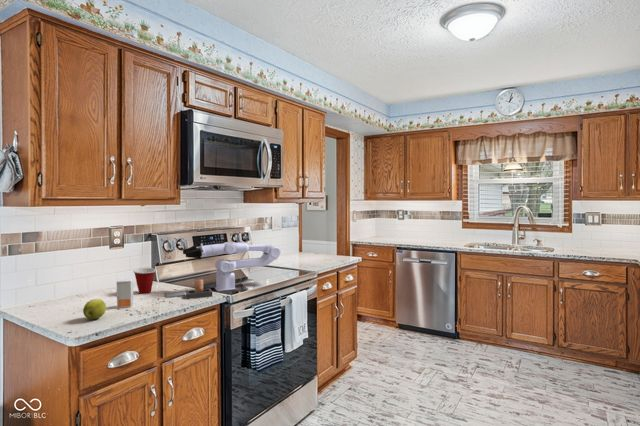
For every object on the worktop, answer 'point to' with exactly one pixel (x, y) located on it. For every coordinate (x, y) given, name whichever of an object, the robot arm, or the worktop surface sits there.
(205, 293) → the dark flat piece
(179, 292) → the mat
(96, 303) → the apple
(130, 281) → the skincare box
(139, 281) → the plastic cup
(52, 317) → the worktop surface
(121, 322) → the worktop surface
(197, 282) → the peg
